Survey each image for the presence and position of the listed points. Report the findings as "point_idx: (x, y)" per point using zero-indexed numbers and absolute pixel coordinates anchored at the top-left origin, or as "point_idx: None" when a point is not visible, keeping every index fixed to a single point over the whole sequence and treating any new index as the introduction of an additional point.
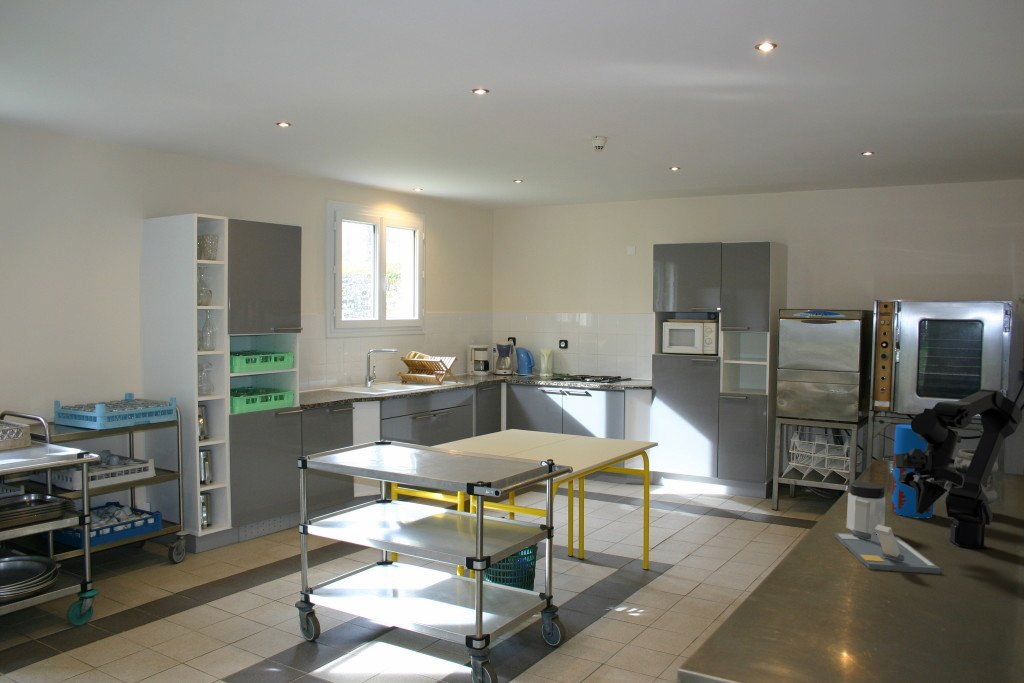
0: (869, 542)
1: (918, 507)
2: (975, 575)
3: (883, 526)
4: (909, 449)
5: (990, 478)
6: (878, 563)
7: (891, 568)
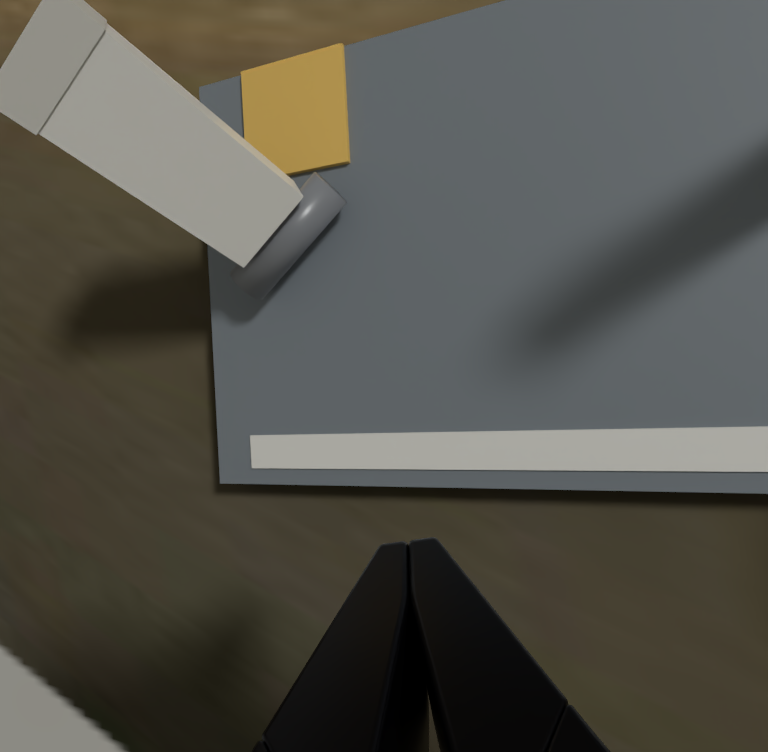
0: (752, 152)
1: (374, 583)
2: (261, 669)
3: (21, 37)
4: None
5: None
6: None
7: None
